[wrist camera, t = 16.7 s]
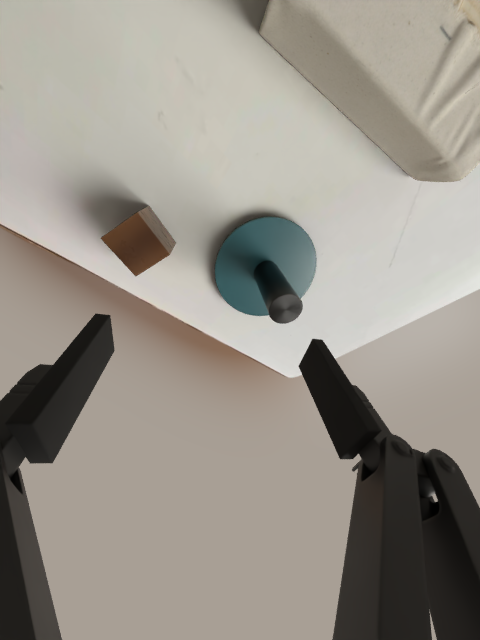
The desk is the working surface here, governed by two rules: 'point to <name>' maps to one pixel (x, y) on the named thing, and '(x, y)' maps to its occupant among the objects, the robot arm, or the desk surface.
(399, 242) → the desk surface
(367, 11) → the box
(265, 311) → the lid
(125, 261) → the block
